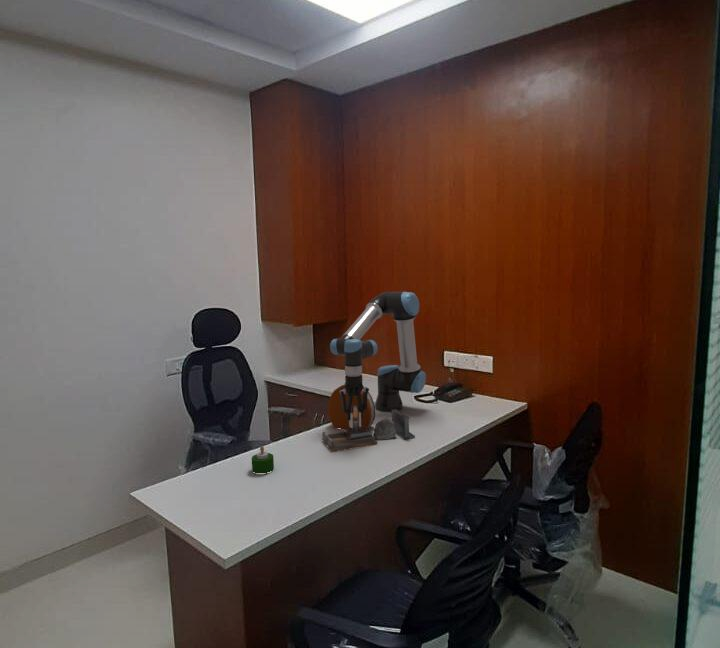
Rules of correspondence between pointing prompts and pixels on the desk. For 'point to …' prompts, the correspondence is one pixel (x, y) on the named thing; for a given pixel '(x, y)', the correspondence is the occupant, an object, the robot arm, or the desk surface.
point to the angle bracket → (401, 424)
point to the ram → (357, 428)
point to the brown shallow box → (345, 441)
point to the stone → (384, 429)
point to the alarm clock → (340, 417)
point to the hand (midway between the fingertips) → (355, 426)
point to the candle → (262, 462)
